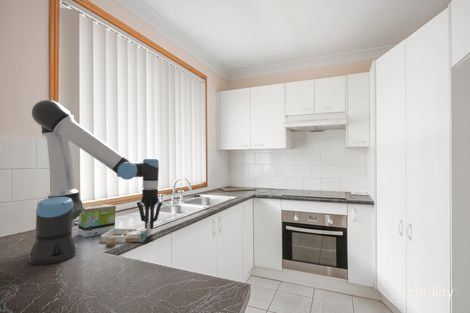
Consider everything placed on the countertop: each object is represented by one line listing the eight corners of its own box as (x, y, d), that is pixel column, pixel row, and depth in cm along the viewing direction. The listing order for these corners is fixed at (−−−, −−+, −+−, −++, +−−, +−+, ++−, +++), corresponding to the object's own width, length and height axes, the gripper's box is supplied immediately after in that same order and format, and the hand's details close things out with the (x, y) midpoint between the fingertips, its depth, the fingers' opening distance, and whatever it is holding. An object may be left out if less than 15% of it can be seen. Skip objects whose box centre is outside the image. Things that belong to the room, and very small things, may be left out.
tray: (142, 242, 116) (142, 233, 116) (117, 241, 116) (117, 233, 116) (151, 234, 129) (151, 226, 129) (128, 233, 128) (128, 226, 129)
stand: (112, 247, 109) (112, 239, 109) (104, 246, 109) (105, 239, 109) (116, 244, 113) (116, 236, 113) (108, 244, 113) (109, 236, 113)
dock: (125, 242, 115) (125, 236, 115) (99, 242, 115) (99, 236, 115) (136, 234, 129) (136, 228, 129) (113, 233, 129) (113, 228, 129)
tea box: (85, 238, 121) (86, 208, 121) (77, 234, 127) (78, 206, 127) (115, 231, 133) (116, 205, 133) (106, 228, 139) (107, 202, 139)
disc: (138, 238, 119) (138, 235, 119) (124, 238, 119) (124, 235, 119) (143, 234, 126) (143, 231, 126) (129, 234, 126) (130, 231, 126)
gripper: (165, 188, 127) (163, 233, 126) (140, 187, 127) (139, 232, 126) (160, 189, 119) (159, 237, 119) (134, 189, 119) (133, 237, 118)
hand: (149, 234), depth 122 cm, fingers closed
